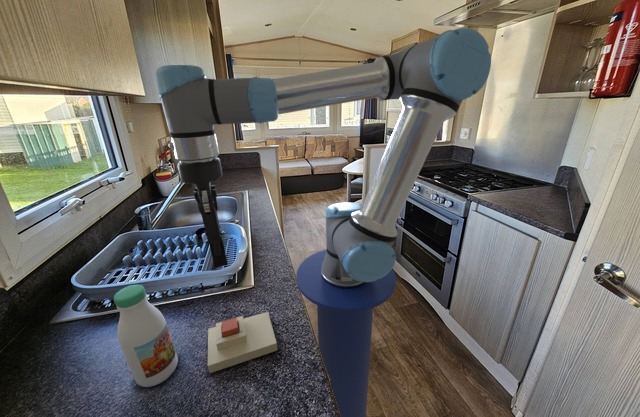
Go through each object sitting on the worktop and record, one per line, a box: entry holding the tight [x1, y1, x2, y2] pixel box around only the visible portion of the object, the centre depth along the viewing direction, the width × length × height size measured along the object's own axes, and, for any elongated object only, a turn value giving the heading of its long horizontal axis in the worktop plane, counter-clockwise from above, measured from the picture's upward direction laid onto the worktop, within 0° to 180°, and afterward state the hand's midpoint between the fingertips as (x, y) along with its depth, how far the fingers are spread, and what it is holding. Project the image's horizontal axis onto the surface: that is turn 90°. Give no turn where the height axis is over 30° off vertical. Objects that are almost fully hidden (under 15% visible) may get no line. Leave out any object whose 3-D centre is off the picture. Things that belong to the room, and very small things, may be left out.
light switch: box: [207, 311, 278, 374], centre depth 59 cm, size 14×10×4 cm
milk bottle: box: [113, 284, 179, 388], centre depth 50 cm, size 8×8×20 cm
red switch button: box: [221, 317, 239, 338], centre depth 58 cm, size 3×3×2 cm
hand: (221, 264), depth 58 cm, fingers closed
